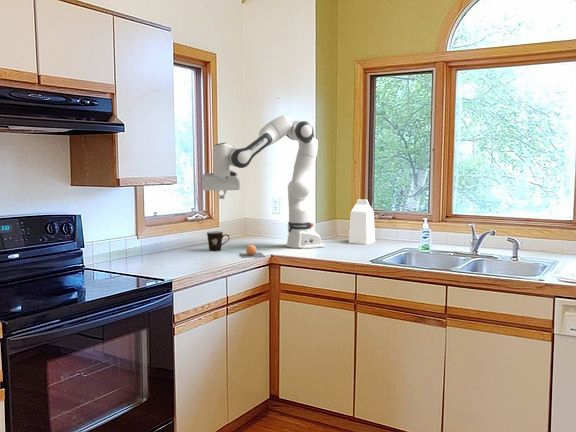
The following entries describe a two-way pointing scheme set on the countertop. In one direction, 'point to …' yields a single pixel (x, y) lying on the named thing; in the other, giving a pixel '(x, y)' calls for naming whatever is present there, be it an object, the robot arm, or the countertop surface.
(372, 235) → the milk
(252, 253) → the ball
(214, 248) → the coffee mug
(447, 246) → the countertop surface
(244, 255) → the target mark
